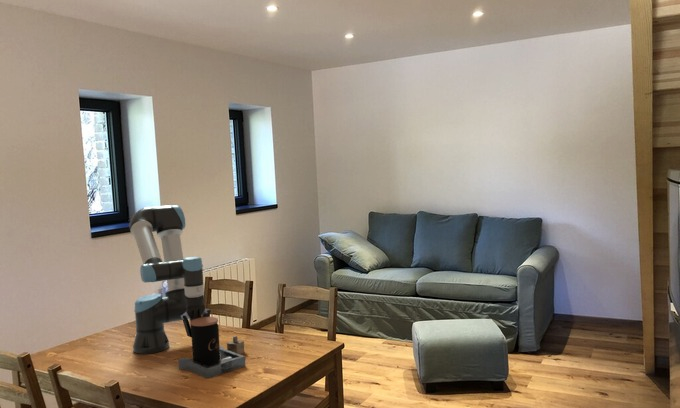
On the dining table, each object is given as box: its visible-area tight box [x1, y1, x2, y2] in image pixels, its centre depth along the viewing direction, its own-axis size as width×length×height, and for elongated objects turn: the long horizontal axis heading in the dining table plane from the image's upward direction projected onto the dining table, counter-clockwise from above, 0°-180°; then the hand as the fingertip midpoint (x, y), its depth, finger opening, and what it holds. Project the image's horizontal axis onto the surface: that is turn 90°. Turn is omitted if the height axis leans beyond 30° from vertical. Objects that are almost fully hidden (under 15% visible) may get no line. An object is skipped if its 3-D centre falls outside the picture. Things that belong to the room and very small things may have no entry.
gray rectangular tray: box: [177, 345, 246, 380], centre depth 223 cm, size 19×21×5 cm
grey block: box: [226, 335, 245, 355], centre depth 238 cm, size 5×5×7 cm
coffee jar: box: [190, 316, 221, 366], centre depth 226 cm, size 11×11×18 cm
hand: (197, 352), depth 231 cm, fingers closed
